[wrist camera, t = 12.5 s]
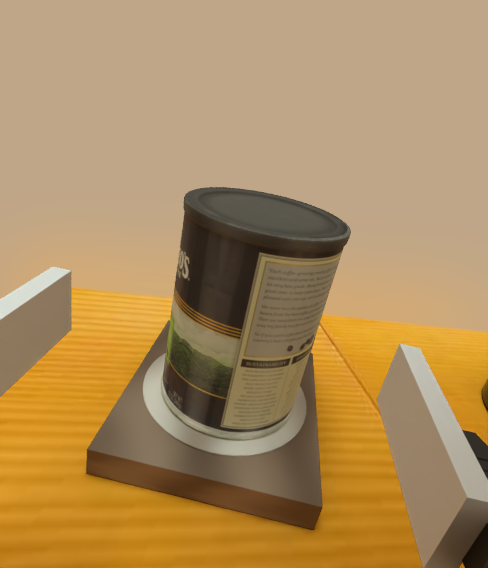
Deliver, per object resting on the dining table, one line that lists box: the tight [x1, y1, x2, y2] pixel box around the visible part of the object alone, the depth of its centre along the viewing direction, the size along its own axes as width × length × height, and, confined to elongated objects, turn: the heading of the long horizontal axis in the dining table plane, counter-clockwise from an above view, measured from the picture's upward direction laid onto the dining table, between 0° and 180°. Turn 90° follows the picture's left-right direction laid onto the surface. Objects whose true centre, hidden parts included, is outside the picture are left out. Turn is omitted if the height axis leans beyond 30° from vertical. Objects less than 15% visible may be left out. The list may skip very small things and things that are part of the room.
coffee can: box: [161, 187, 351, 440], centre depth 27 cm, size 10×10×14 cm
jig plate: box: [86, 321, 322, 530], centre depth 30 cm, size 14×16×4 cm
